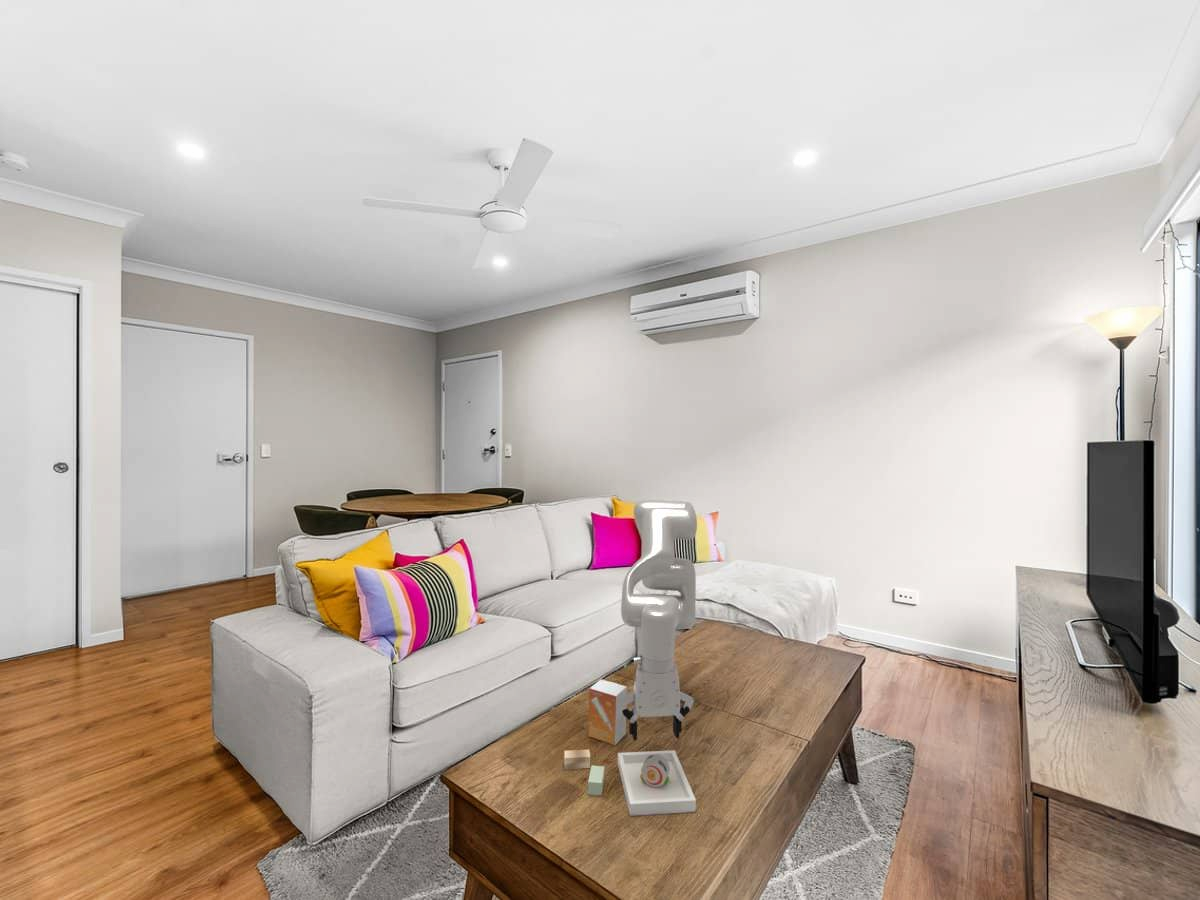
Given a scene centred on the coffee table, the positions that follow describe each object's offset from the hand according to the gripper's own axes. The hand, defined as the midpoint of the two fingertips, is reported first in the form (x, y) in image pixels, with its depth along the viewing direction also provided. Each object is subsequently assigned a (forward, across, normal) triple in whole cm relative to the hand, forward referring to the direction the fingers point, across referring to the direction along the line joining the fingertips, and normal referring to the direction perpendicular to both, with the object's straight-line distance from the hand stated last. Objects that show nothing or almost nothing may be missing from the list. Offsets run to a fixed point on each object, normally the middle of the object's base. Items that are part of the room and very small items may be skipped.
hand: (655, 735), depth 122 cm
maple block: (+12, -17, +8) cm, 22 cm away
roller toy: (+11, 0, -1) cm, 11 cm away
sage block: (+11, -13, 0) cm, 17 cm away
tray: (+11, 0, -1) cm, 11 cm away
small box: (+12, -8, +20) cm, 25 cm away
